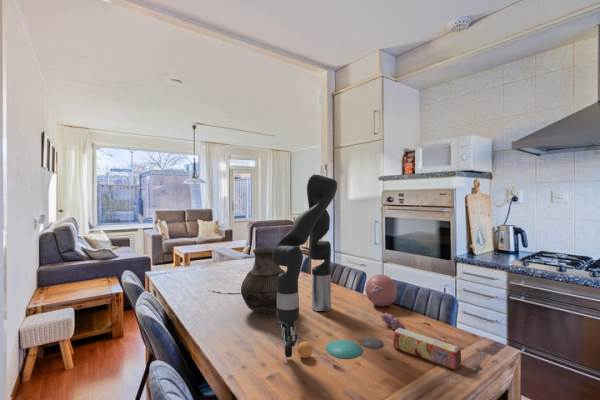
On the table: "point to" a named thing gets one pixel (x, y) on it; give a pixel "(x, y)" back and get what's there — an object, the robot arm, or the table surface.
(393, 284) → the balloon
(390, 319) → the video game controller
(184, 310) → the table surface
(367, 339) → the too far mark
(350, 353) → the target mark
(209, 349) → the table surface
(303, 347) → the ball
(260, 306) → the vase
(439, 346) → the snack package
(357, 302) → the table surface
